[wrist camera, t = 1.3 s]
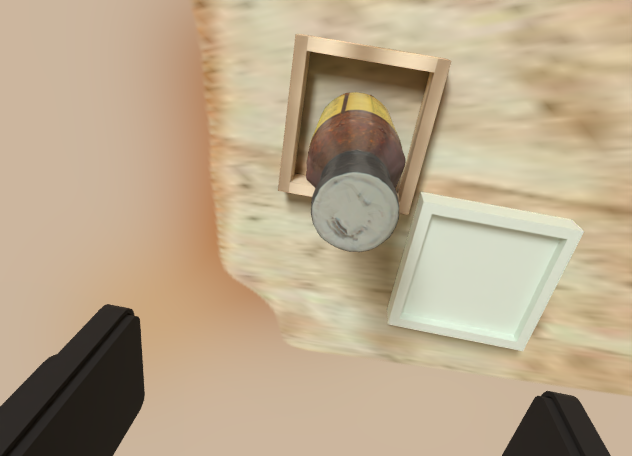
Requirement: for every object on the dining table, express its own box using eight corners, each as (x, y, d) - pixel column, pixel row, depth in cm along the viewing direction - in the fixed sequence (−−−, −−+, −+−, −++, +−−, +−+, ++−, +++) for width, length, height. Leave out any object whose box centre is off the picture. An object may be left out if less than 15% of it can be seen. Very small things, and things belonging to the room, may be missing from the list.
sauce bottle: (328, 165, 38) (291, 284, 20) (313, 97, 35) (256, 165, 18) (399, 152, 37) (425, 268, 19) (389, 81, 34) (408, 137, 16)
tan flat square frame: (445, 58, 33) (451, 60, 31) (406, 204, 39) (408, 214, 36) (300, 34, 33) (295, 34, 31) (283, 181, 39) (277, 190, 37)
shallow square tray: (571, 219, 37) (583, 231, 35) (515, 334, 44) (522, 351, 42) (420, 191, 38) (423, 201, 36) (386, 309, 44) (387, 324, 42)
